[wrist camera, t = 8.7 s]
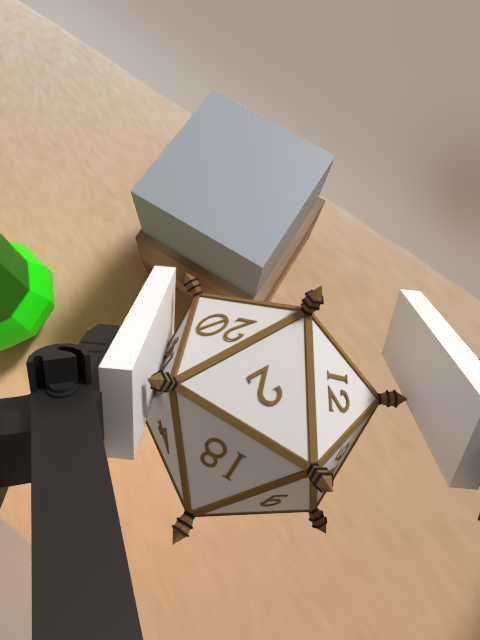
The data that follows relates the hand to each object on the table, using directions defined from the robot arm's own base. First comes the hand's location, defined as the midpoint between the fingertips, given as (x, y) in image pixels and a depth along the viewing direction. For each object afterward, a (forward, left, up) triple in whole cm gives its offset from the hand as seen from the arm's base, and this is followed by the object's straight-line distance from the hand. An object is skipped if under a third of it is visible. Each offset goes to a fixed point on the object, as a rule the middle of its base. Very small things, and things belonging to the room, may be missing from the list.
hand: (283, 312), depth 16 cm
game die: (-1, +3, -4) cm, 5 cm away
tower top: (+8, -12, -18) cm, 24 cm away
